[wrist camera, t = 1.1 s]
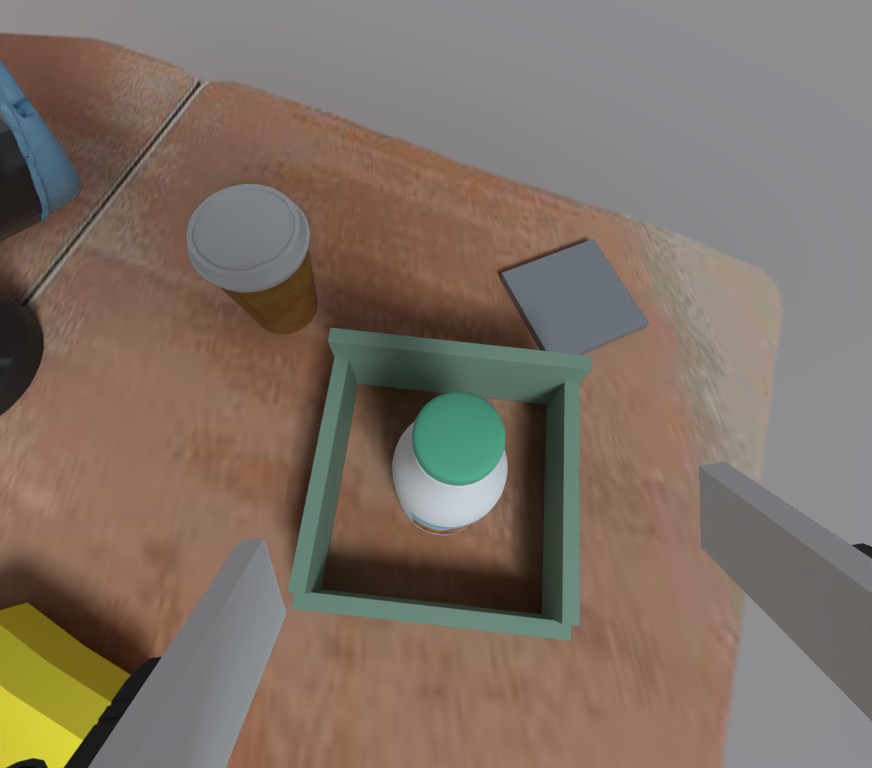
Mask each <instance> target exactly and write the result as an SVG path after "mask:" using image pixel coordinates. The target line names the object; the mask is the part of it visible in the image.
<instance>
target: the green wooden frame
mask: <svg viewBox="0 0 872 768" xmlns="http://www.w3.org/2000/svg"><path fill="white" fill-rule="evenodd" d="M328 343H329V345H330V348H331V350H332V352H333V355H334V362H333V367H332V372H331V377H330V382H329V387H328V392H327V397H326V402H325V407H324V412H323V417H322V422H321V427H320V432H319V437H318V442H317V447H316V452H315V457H314V462H313V467H312V472H311V477H310V482H309V487H308V492H307V497H306V502H305V507H304V512H303V517H302V522H301V527H300V532H299V537H298V542H297V547H296V552H295V557H294V562H293V567H292V572H291V577H290V582H289V587H288V593H294V597H293V602H292V607H291V609H300V610H309V611H317V612H326V613H335V614H343V615H352V616H361V617H369V618H378V619H387V620H395V621H404V622H413V623H421V624H430V625H439V626H447V627H456V628H465V629H473V630H482V631H491V632H499V633H508V634H517V635H525V636H534V637H543V638H551V639H560V640H569V641H571V625H574V626H580V563H579V384H580V382H581V381H582V380H583V379H584V378H585V377H586V376H587V375H588V374H589V373H590V371H591V370H592V364H591V356H587V355H578V354H568V353H559V352H550V351H541V350H532V349H522V348H513V347H504V346H495V345H486V344H476V343H467V342H458V341H449V340H440V339H431V338H421V337H412V336H403V335H394V334H385V333H375V332H366V331H357V330H348V329H339V328H330V333H329V338H328ZM358 384H364V385H373V386H382V387H391V388H400V389H409V390H418V391H427V392H436V393H448V392H454V391H462V392H469V393H472V394H475V395H478V396H480V397H482V398H491V399H500V400H509V401H518V402H527V403H536V404H545V405H547V407H546V449H545V490H544V531H543V572H542V613H541V614H535V613H526V612H518V611H509V610H500V609H491V608H483V607H474V606H465V605H457V604H448V603H439V602H431V601H422V600H413V599H404V598H396V597H387V596H378V595H370V594H361V593H352V592H344V591H335V590H326V589H322V586H323V580H324V574H325V569H326V563H327V557H328V552H329V546H330V540H331V535H332V529H333V523H334V518H335V512H336V506H337V501H338V495H339V489H340V484H341V478H342V472H343V467H344V461H345V455H346V450H347V444H348V438H349V433H350V427H351V421H352V416H353V410H354V405H355V399H356V393H357V388H358Z"/></svg>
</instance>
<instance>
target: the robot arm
mask: <svg viewBox="0 0 872 768" xmlns="http://www.w3.org/2000/svg"><path fill="white" fill-rule="evenodd" d="M80 190H81V179H80V176H79V174H78V172H77V170H76V168H75V167H74V165H73V163H72V162H71V160H70V158H69V157H68V155H67V154H66V152H65V151H64V149H63V148H62V146H61V145H60V143H59V142H58V140H57V139H56V138H55V136H54V135H53V133H52V132H51V130H50V129H49V127H48V126H47V125H46V123H45V122H44V120H43V119H42V117H41V116H40V115H39V113H38V112H37V111H36V109H35V108H34V107H33V106H32V105H31V102H30V101H29V99H28V98H27V97H26V95H25V94H24V92H23V91H22V89H21V88H20V86H19V85H18V83H17V82H16V80H15V79H14V78H13V76H12V75H11V73H10V72H9V71H8V69H7V68H6V66H5V65H4V64H3V62H2V61H1V60H0V241H2V240H4V239H6V238H8V237H10V236H12V235H14V234H16V233H18V232H20V231H22V230H24V229H26V228H28V227H30V226H32V225H34V224H36V223H38V222H41V221H44V220H46V219H47V218H48V217H49V215H50V214H51V213H53V212H55V211H56V210H58V209H60V208H61V207H63V206H64V205H66V204H68V203H69V202H71V201H73V200H74V199H75V198H76V197H77V196H78V194H79V193H80ZM41 354H42V334H41V330H40V327H39V324H38V322H37V320H36V318H35V317H34V315H33V314H32V313H31V312H30V311H29V310H28V309H27V308H26V307H25V306H24V305H22V304H21V303H19V302H18V301H16V300H15V299H13V298H11V297H10V296H8V295H7V294H5V293H3V292H2V291H0V415H2V414H3V413H4V412H5V411H6V410H8V409H9V408H10V407H11V406H12V405H13V404H14V403H15V402H16V401H17V400H18V399H19V398H20V396H21V395H22V394H23V393H24V391H25V390H26V389H27V387H28V386H29V384H30V383H31V381H32V379H33V377H34V375H35V373H36V371H37V368H38V366H39V363H40V359H41ZM699 487H700V524H701V548H702V549H703V550H704V551H705V552H706V553H707V554H708V555H709V556H710V557H711V558H712V559H713V560H714V561H715V562H716V563H717V564H718V565H719V566H720V567H721V568H722V569H723V570H724V571H725V572H726V573H727V574H728V575H729V576H730V577H731V578H732V579H733V580H734V581H735V582H736V583H737V584H738V585H739V586H740V587H741V588H742V589H743V590H744V591H745V592H746V593H747V594H748V595H749V596H750V598H751V599H752V600H754V602H755V603H756V604H757V605H758V606H759V607H760V608H761V609H762V610H763V611H764V612H765V613H766V614H767V615H768V616H769V617H770V618H771V619H772V620H773V621H774V622H775V623H776V624H777V625H778V626H779V627H780V628H781V629H782V630H783V631H784V632H785V633H786V634H787V635H788V636H789V637H790V638H791V639H792V640H793V641H794V642H795V643H796V644H797V645H798V646H799V647H800V648H801V649H802V651H803V652H804V653H805V654H807V656H808V657H809V658H810V659H811V660H812V661H813V662H814V663H815V664H816V665H817V666H818V667H819V668H820V669H821V670H822V671H823V672H824V673H825V674H826V675H827V676H828V677H829V678H830V679H831V680H832V681H833V682H834V683H835V684H836V685H837V686H838V687H839V688H840V689H841V690H842V691H843V692H844V693H845V694H846V695H847V696H848V697H849V699H850V700H852V701H853V703H854V704H855V705H856V706H857V707H858V708H859V709H860V710H861V711H862V712H863V713H864V714H865V715H866V716H867V717H868V718H869V719H870V720H871V721H872V547H871V546H869V545H866V544H864V543H863V544H856V545H850V544H849V543H847V542H845V541H844V540H843V539H841V538H840V537H838V536H837V535H835V534H834V533H832V532H830V531H829V530H827V529H826V528H824V527H823V526H821V525H820V524H818V523H817V522H815V521H814V520H812V519H810V518H809V517H808V516H806V515H805V514H803V513H802V512H800V511H798V510H797V509H795V508H794V507H792V506H791V505H789V504H788V503H786V502H785V501H783V500H782V499H780V498H779V497H777V496H776V495H774V494H773V493H771V492H770V491H768V490H766V489H765V488H763V487H762V486H761V485H759V484H757V483H756V482H754V481H753V480H751V479H750V478H748V477H747V476H745V475H744V474H742V473H741V472H739V471H738V470H736V469H735V468H733V467H732V466H730V465H729V464H727V463H726V462H722V463H716V464H710V465H704V466H699ZM285 616H286V611H285V607H284V604H283V600H282V597H281V594H280V590H279V587H278V583H277V580H276V577H275V573H274V570H273V566H272V563H271V560H270V556H269V553H268V550H267V546H266V543H265V539H264V538H257V539H251V540H245V541H239V542H238V544H237V545H236V547H235V548H234V550H233V551H232V553H231V554H230V556H229V557H228V559H227V560H226V562H225V563H224V565H223V566H222V568H221V569H220V571H219V572H218V574H217V575H216V577H215V578H214V580H213V581H212V583H211V584H210V586H209V587H208V589H207V590H206V592H205V593H204V595H203V596H202V598H201V599H200V601H199V602H198V604H197V605H196V607H195V608H194V610H193V611H192V613H191V614H190V616H189V617H188V619H187V620H186V622H185V623H184V625H183V626H182V628H181V629H180V631H179V632H178V634H177V635H176V637H175V638H174V640H173V641H172V643H171V644H170V646H169V647H168V649H167V650H166V652H165V653H164V655H163V656H162V657H158V658H151V659H148V660H147V661H146V662H145V663H144V664H143V665H142V666H141V667H140V668H139V669H138V670H136V671H135V672H134V673H133V674H132V675H131V676H130V677H129V678H128V679H127V680H126V681H125V683H124V684H123V685H122V687H121V688H120V690H119V691H118V692H117V694H116V695H115V697H114V698H113V699H112V701H111V705H109V706H107V708H106V709H105V711H104V712H103V713H102V715H101V716H100V718H99V719H98V723H97V724H96V725H94V726H93V727H92V729H91V730H90V732H89V733H88V734H87V736H86V737H85V739H84V740H83V741H82V743H81V744H80V746H79V747H78V748H77V750H76V751H75V752H74V754H73V755H72V757H71V758H70V759H69V761H68V762H67V764H66V765H65V766H64V768H226V766H227V763H228V761H229V758H230V756H231V753H232V751H233V748H234V746H235V743H236V741H237V738H238V735H239V733H240V730H241V728H242V725H243V723H244V720H245V718H246V715H247V713H248V710H249V708H250V705H251V702H252V700H253V697H254V695H255V692H256V690H257V687H258V685H259V682H260V680H261V677H262V674H263V672H264V669H265V667H266V664H267V662H268V659H269V657H270V654H271V652H272V649H273V647H274V644H275V641H276V639H277V636H278V634H279V631H280V629H281V626H282V624H283V621H284V619H285ZM6 768H48V767H47V765H46V763H45V761H44V760H41V759H36V758H31V759H27V760H23V761H19V762H16V763H14V764H12V765H10V766H8V767H6Z"/></svg>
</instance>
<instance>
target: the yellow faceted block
mask: <svg viewBox="0 0 872 768" xmlns="http://www.w3.org/2000/svg"><path fill="white" fill-rule="evenodd" d="M130 676H131V675H130V674H129V673H127V672H125V671H124V670H122V669H121V668H119V667H117V666H116V665H114V664H113V663H111V662H109V661H108V660H106V659H105V658H103V657H102V656H100V655H98V654H97V653H95V652H94V651H92V650H90V649H89V648H87V647H86V646H84V645H83V644H81V643H80V642H79V641H77V640H76V639H75V638H74V637H72V636H71V635H70V634H68V633H67V632H66V631H64V630H63V629H62V628H60V627H59V626H58V625H56V624H55V623H54V622H53V621H51V620H50V619H49V618H47V617H46V616H45V615H43V614H42V613H41V612H39V611H38V610H37V609H35V608H34V607H33V606H31V605H30V604H29V603H24V604H20V605H17V606H13V607H10V608H6V609H3V610H0V768H6V767H8V766H10V765H12V764H14V763H16V762H19V761H23V760H27V759H31V758H36V759H41V760H44V761H45V763H46V765H47V767H48V768H64V766H65V765H66V764H67V762H68V761H69V759H70V758H71V757H72V755H73V754H74V752H75V751H76V750H77V748H78V747H79V746H80V744H81V743H82V741H83V740H84V739H85V737H86V736H87V734H88V733H89V732H90V730H91V729H92V727H93V726H94V725H96V724H97V723H98V719H99V718H100V716H101V715H102V713H103V712H104V711H105V709H106V708H107V706H109V705H111V701H112V699H113V698H114V697H115V695H116V694H117V692H118V691H119V690H120V688H121V687H122V685H123V684H124V683H125V681H126V680H127V679H128V678H129V677H130Z"/></svg>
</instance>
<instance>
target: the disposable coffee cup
mask: <svg viewBox="0 0 872 768" xmlns="http://www.w3.org/2000/svg"><path fill="white" fill-rule="evenodd" d="M186 236H187V243H188V245H187V247H188V254H189V258H190V261H191V263H192V265H193V266H194V268H195V270H196V271H197V272H198V273H199V274H200V275H201V276H202V277H203V278H204V279H205V280H207V281H208V282H210V283H212V284H214V285H216V286H218V287H221V288H222V289H223V290H224V291H225V292H226V293H227V294H228V295H229V296H230V297H231V298H232V299H233V300H234V301H236V302H237V303H238V304H239V305H240V306H241V307H242V308H243V309H244V310H245V311H246V312H247V313H248V314H250V315H251V316H252V317H253V318H254V319H255V320H256V321H257V322H258V323H259V324H260V325H261V326H262V327H263V328H265V329H266V330H268V331H270V332H273V333H278V334H288V333H293V332H296V331H298V330H300V329H302V328H304V327H305V326H306V325H307V324H309V323H310V321H311V320H312V319H313V317H314V315H315V314H316V310H317V304H318V303H317V297H316V291H315V285H314V279H313V273H312V267H311V262H310V255H309V249H308V248H309V242H310V229H309V224H308V221H307V219H306V217H305V215H304V213H303V212H302V210H301V209H300V208H299V207H298V206H297V205H296V204H295V203H293V202H292V201H291V200H290V199H289V198H288V197H287V196H286V195H285V194H283V193H281V192H279V191H278V190H276V189H274V188H271V187H267V186H264V185H260V184H241V185H236V186H231V187H227V188H225V189H222V190H220V191H218V192H216V193H214V194H212V195H211V196H209V197H208V198H206V199H205V200H204V201H203V202H202V203H201V204H200V205H199V206H198V207H197V208H196V209H195V211H194V213H193V214H192V216H191V218H190V220H189V223H188V226H187V234H186Z"/></svg>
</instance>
